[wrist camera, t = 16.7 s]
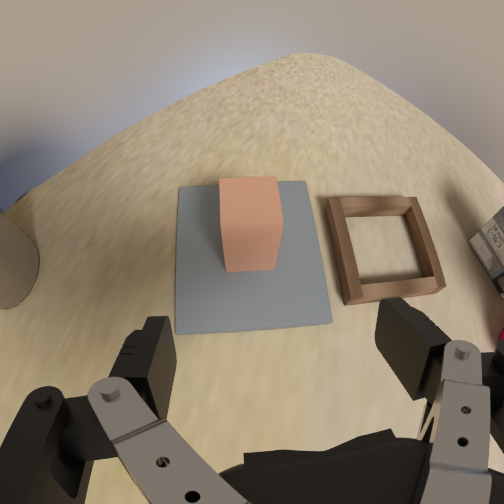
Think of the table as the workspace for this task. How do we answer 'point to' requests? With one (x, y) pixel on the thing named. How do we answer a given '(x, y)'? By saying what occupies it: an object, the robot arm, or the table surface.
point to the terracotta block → (250, 222)
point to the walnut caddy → (346, 260)
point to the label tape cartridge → (492, 248)
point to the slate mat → (247, 282)
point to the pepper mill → (502, 335)
